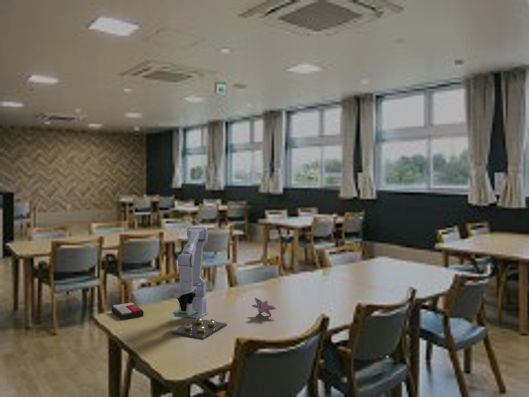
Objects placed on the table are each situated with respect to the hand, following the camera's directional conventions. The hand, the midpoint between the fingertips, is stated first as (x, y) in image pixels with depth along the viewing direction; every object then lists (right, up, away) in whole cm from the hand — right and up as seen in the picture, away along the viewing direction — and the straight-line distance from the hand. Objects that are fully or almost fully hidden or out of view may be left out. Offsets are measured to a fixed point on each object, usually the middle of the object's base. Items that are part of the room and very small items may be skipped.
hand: (186, 309), depth 203 cm
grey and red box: (-33, -8, +21) cm, 40 cm away
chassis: (+7, -9, 0) cm, 11 cm away
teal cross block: (0, -2, 0) cm, 2 cm away
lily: (+35, -8, +19) cm, 40 cm away
